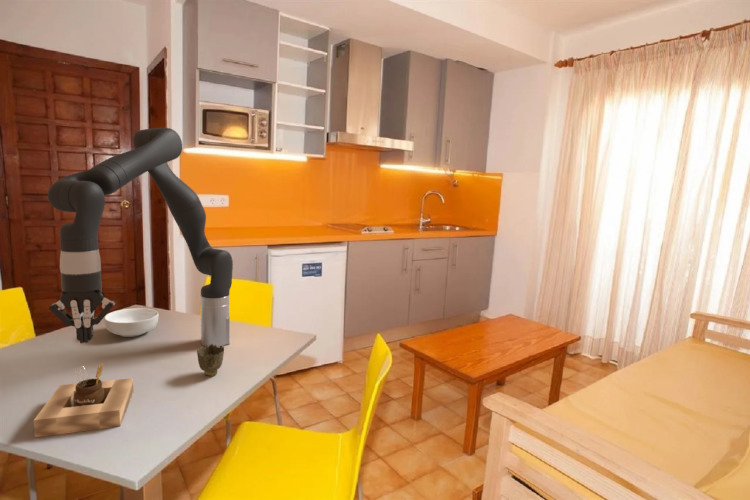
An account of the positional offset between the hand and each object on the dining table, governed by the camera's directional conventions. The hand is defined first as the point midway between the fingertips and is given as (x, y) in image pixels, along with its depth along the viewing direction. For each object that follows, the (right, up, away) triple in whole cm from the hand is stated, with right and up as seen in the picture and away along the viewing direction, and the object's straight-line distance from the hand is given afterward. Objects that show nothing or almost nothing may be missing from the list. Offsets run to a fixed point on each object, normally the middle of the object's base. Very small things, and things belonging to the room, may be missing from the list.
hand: (85, 341), depth 97 cm
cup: (+19, -16, +25) cm, 35 cm away
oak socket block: (-1, -18, +3) cm, 18 cm away
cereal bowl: (-20, -9, +53) cm, 57 cm away
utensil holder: (-1, -18, +3) cm, 18 cm away
